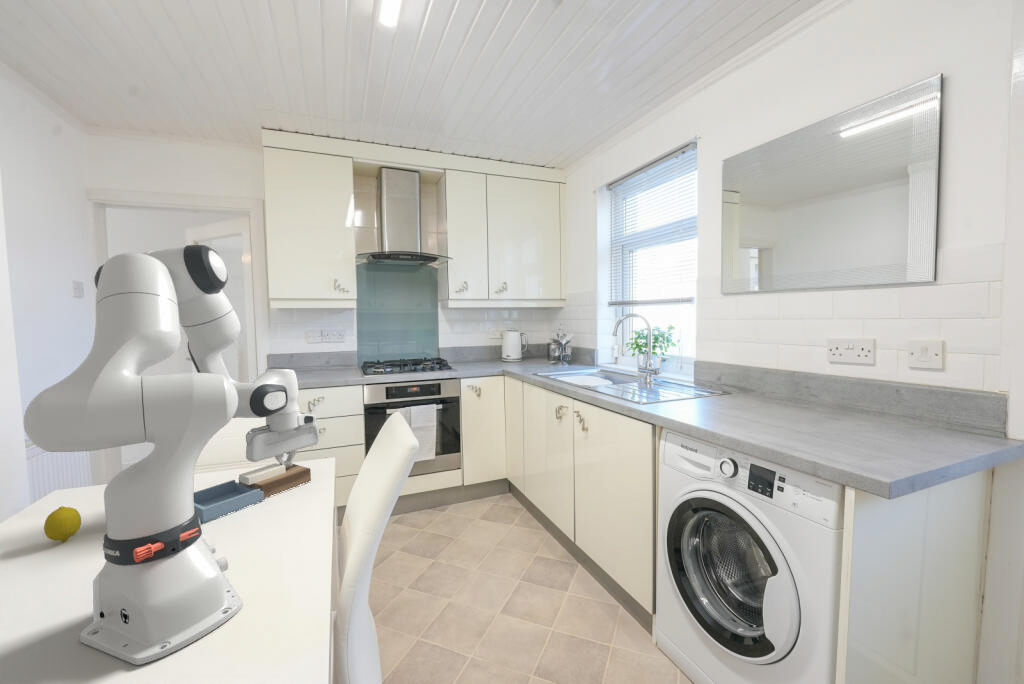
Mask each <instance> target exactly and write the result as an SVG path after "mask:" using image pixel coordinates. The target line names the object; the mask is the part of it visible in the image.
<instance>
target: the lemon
mask: <svg viewBox="0 0 1024 684" xmlns="http://www.w3.org/2000/svg"><path fill="white" fill-rule="evenodd" d="M81 526H82V516H81V514H80V512H79V511H78V510H77V509H76V508H74V507H71V506H62V505H61V506H59V507H58V508H57V509H55V510H53V511H52V512H51V513H49V514H48V515H47V517H46V519H45V521H44V524H43V531H44V534H45V536H46V537H47V539H49V540H51V541H54V542H55V541H58V542H61V543H65V542H67V541H68V540H69V539H70V538H71V537H73V536H75V535H76V534H77V533H78V531H79V530H80V529H81Z"/></svg>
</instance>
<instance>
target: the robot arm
mask: <svg viewBox="0 0 1024 684" xmlns="http://www.w3.org/2000/svg"><path fill="white" fill-rule="evenodd" d="M228 277H229V276H228V271H227V267H226V264H225V262H224V261H223V258H221V256H220V254H219V253H218V252H217V251H216V250H214V249H213V248H211V247H210V246H208V245H205V244H187V245H186V246H185V247H183V246H182V247H172V248H165V249H159V250H152V251H151V250H149V251H145V252H142V253H139V252H124V253H120V254H117V255H114V256H112V257H109V258H108V259H107V260H106V261H105V262H104V264H102V265H100V266H99V267H98V269H97V271H96V273H95V275H94V284H95V285H94V286H95V289H96V294H95V328H94V336H93V343H92V347H91V349H90V351H89V353H88V354H87V356H86V358H85V359H84V360H83V361H82V363H80V365H79V366H78V367H77V368H76V369H75V370H74V371H72V372H71V373H70V374H69V375H67V376H66V377H64V378H63V379H61V380H59V382H56V383H55V384H53V385H51V386H49V387H47V388H45V389H43V390H42V391H40V392H39V393H38V394H37V395H36V396H34V398H32V400H31V401H30V403H29V404H28V405H27V407H26V409H25V412H24V415H23V428H24V432H25V434H26V436H27V437H28V439H29V440H30V441H31V442H32V444H34V445H35V446H37V448H39V449H41V450H42V451H45V452H48V453H73V452H74V453H76V452H78V453H79V452H94V451H101V450H106V449H113V448H119V447H124V446H125V447H126V446H130V445H137V444H143V443H151V444H152V443H153V445H154V447H153V449H152V451H151V452H150V453H149V454H148V455H147V456H146V457H144V458H143V459H140V460H139V461H137V462H135V463H134V464H131V465H129V466H127V467H126V468H124V469H123V470H122V471H120V472H118V473H117V474H115V476H113V477H112V478H111V479H110V480H109V482H108V483H107V485H106V486H105V489H104V492H103V503H104V504H103V505H104V514H105V527H106V532H105V534H104V536H103V543H102V551H103V555H104V560H105V561H106V562H105V563H104V565H103V567H102V569H101V570H100V571H99V572H98V573H97V575H96V576H95V577H94V579H93V581H92V600H93V601H92V603H93V605H92V606H93V608H92V609H93V610H92V612H93V618H92V619H93V621H92V622H91V623H90V624H89V625H87V626H86V627H85V628H84V629H83V630H82V631H80V634H79V642H80V643H82V644H85V645H87V646H90V647H92V648H95V649H97V650H99V651H101V652H103V653H106V654H108V655H111V656H113V657H116V658H117V659H121V660H122V661H125V662H128V663H129V664H132V665H136V666H137V665H138V666H140V665H145V664H146V663H150V662H152V661H157V660H158V659H160V658H164V657H165V656H168V655H170V654H172V653H174V652H176V651H178V650H180V649H183V648H184V647H186V646H188V645H190V644H192V643H193V642H196V641H197V640H199V639H201V638H202V637H205V636H206V635H207V634H209V633H210V632H213V631H214V630H215V629H217V628H218V627H220V626H221V625H223V624H224V623H225V622H227V621H228V620H230V619H231V618H232V617H234V615H236V614H237V613H238V612H239V611H240V610H241V609H242V607H243V605H244V603H243V599H242V597H241V596H240V595H239V593H238V591H237V590H236V589H235V587H234V586H233V584H232V583H231V581H230V579H229V578H228V577H227V575H226V573H224V572H226V571H228V570H229V563H228V559H227V557H225V556H222V557H221V558H217V559H216V558H215V556H214V554H215V553H216V552H217V551H216V550H217V549H216V546H215V544H214V545H213V544H212V545H209V544H208V541H207V540H206V539H205V538H206V536H205V534H202V533H203V530H202V528H201V527H202V526H201V524H202V523H201V522H200V519H199V517H198V514H197V511H196V510H195V509H194V492H195V491H194V488H195V487H194V485H195V484H194V482H195V481H194V480H195V471H196V466H197V463H198V460H199V458H200V455H201V454H202V452H203V450H204V448H205V446H206V445H207V444H208V443H209V441H210V440H211V439H212V438H213V437H214V436H215V435H216V434H217V432H219V431H220V430H221V429H223V428H224V427H225V426H227V425H228V423H230V422H231V421H232V419H236V418H241V419H242V418H243V419H245V418H246V419H262V418H265V425H262V426H258V427H253V428H251V429H250V430H249V431H247V433H246V434H245V442H246V446H245V447H246V448H245V458H246V459H247V461H248V462H251V463H257V462H261V461H265V460H267V459H270V458H271V459H272V458H274V459H275V460H276V461H277V463H278V464H280V465H284V466H285V468H287V467H291V466H292V464H293V460H294V458H295V456H296V451H299V450H302V449H305V448H308V447H311V446H312V447H313V446H315V445H318V444H319V441H320V430H319V426H318V424H317V423H316V422H317V416H316V415H315V414H310V413H304V412H301V410H300V405H299V403H298V400H299V395H300V393H299V384H298V378H297V377H298V376H297V374H296V372H295V370H294V369H293V368H290V367H275V366H274V367H267V368H266V369H265V370H264V371H265V372H264V373H263V374H262V375H261V376H260V377H259V378H257V379H256V380H254V381H252V382H240V381H237V380H235V379H234V378H232V377H231V376H230V374H229V371H228V369H227V367H226V365H225V362H224V360H223V357H222V351H223V350H225V349H226V348H228V347H229V346H230V345H231V346H232V344H233V343H234V342H236V341H237V339H238V338H239V336H240V333H241V330H242V326H241V323H240V319H239V316H238V314H237V313H236V311H235V309H234V308H233V305H232V303H231V302H230V299H229V298H228V297H227V296H226V295H227V294H225V292H224V291H223V289H224V288H225V286H226V285H227V283H228V279H229V278H228ZM180 325H181V326H180ZM181 327H182V329H183V331H184V333H185V335H186V337H187V351H188V354H189V356H190V358H191V361H192V363H193V366H194V367H195V370H196V371H197V372H196V371H195V372H193V371H190V372H178V373H166V374H165V373H164V374H153V375H152V374H151V375H140V374H141V373H143V372H144V371H145V370H147V369H148V368H150V367H152V366H155V365H158V364H160V363H161V362H163V361H165V360H167V359H169V358H170V357H171V356H172V355H173V354H174V353H176V352H177V351H178V349H179V348H180V345H181V342H182V337H181ZM284 454H287V455H288V456H287V458H286V460H284V459H283V458H284V457H285V456H284Z"/></svg>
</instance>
